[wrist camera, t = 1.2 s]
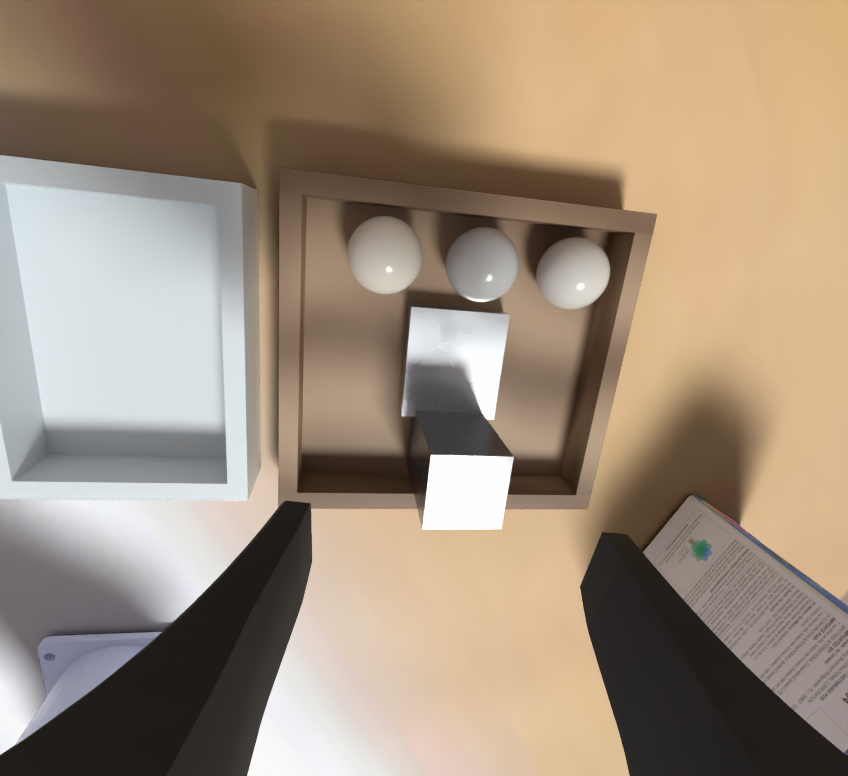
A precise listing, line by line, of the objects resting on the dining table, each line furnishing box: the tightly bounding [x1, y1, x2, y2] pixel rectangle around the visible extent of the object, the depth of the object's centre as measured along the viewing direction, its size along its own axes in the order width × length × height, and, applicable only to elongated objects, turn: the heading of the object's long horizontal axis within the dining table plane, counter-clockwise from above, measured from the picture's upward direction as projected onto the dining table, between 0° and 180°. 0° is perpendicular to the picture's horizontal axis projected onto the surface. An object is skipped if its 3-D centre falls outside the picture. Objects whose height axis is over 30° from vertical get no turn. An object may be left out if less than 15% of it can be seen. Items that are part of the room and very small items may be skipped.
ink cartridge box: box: [643, 495, 848, 756], centre depth 22 cm, size 10×6×14 cm, turn 147°
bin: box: [0, 155, 261, 501], centre depth 19 cm, size 13×10×3 cm
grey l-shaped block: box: [400, 304, 514, 529], centre depth 20 cm, size 8×4×6 cm, turn 174°
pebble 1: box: [347, 216, 423, 294], centre depth 18 cm, size 3×3×3 cm
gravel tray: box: [278, 167, 657, 509], centre depth 21 cm, size 14×15×2 cm
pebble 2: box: [446, 227, 519, 302], centre depth 19 cm, size 3×3×3 cm
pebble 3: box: [536, 237, 610, 309], centre depth 20 cm, size 3×3×3 cm
